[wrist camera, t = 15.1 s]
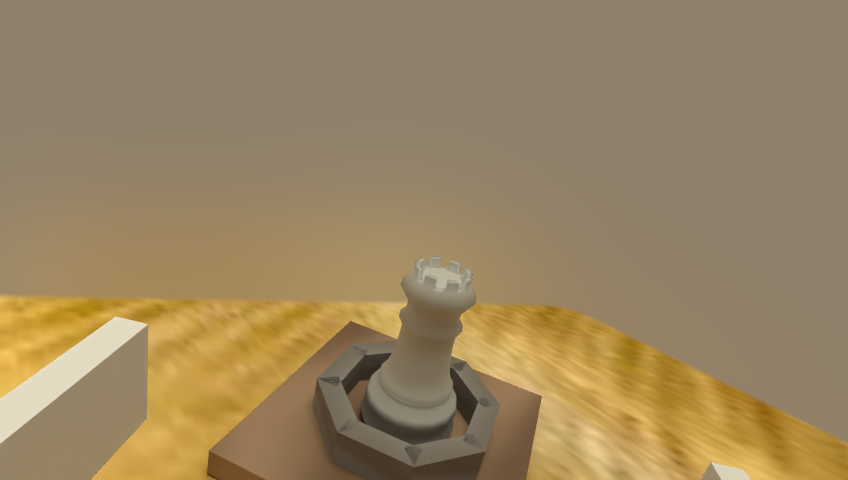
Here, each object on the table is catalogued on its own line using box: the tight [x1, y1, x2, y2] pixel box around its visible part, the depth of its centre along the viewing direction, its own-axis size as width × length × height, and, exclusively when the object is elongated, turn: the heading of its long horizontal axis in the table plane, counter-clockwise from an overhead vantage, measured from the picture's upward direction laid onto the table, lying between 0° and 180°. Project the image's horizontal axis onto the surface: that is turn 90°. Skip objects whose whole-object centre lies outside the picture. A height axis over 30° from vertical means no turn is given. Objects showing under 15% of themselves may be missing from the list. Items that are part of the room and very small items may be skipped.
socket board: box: [207, 321, 542, 480], centre depth 23 cm, size 12×12×3 cm
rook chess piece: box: [360, 256, 476, 445], centre depth 22 cm, size 4×4×8 cm
